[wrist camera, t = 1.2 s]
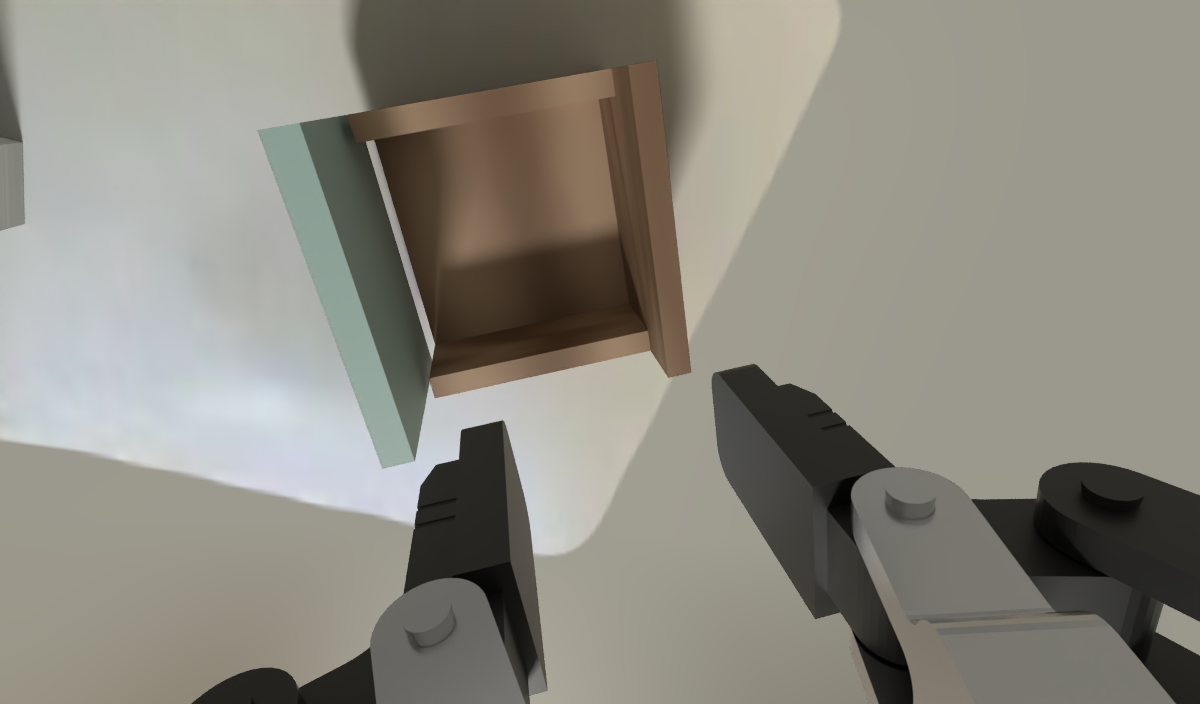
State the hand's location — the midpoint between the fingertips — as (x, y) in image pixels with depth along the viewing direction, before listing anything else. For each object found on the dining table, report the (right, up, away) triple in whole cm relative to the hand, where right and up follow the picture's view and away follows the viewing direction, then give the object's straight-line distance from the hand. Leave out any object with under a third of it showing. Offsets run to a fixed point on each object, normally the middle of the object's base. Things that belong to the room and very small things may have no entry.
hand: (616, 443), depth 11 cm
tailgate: (-10, +6, +18) cm, 21 cm away
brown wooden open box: (-5, +9, +21) cm, 23 cm away
